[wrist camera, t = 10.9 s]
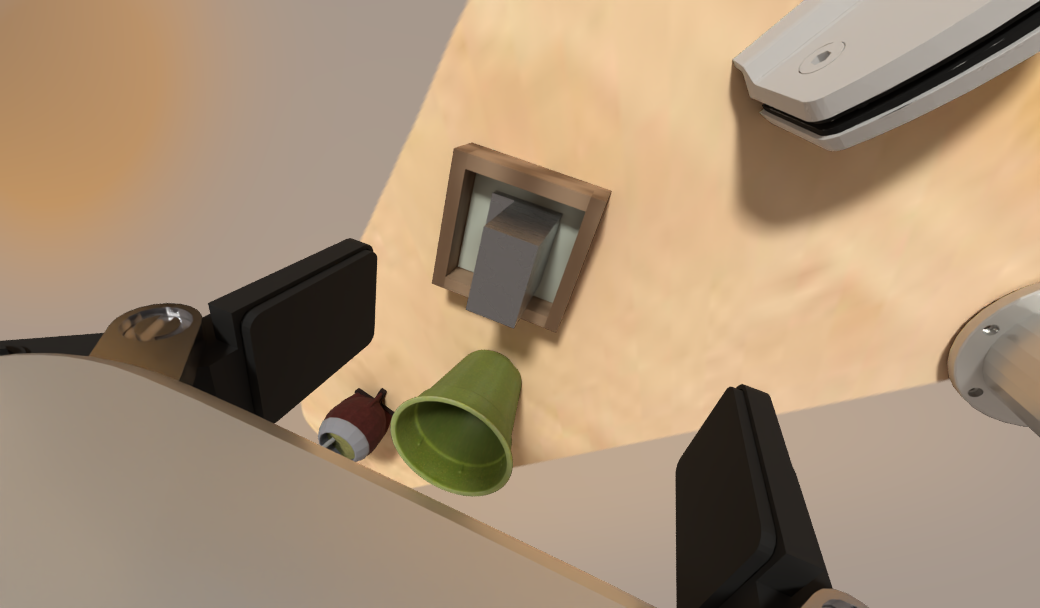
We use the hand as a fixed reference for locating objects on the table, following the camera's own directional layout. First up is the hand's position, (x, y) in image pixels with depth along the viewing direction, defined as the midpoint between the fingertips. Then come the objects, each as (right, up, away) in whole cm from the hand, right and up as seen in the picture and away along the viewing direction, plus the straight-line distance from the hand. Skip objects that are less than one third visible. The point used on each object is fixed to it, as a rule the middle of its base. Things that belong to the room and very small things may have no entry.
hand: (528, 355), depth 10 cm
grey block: (+1, +7, +25) cm, 26 cm away
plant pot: (-3, -7, +36) cm, 36 cm away
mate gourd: (-20, -12, +44) cm, 50 cm away
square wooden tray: (0, +8, +26) cm, 28 cm away
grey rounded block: (+22, +19, +13) cm, 32 cm away
